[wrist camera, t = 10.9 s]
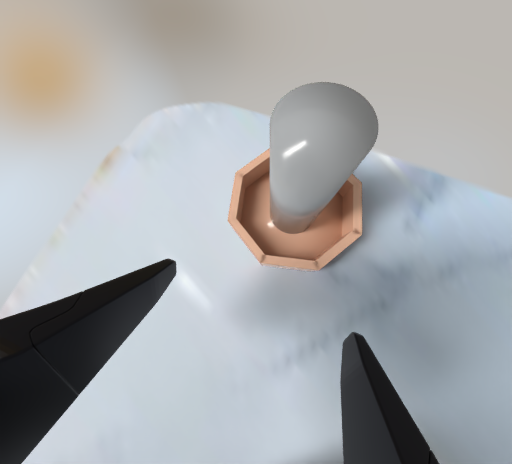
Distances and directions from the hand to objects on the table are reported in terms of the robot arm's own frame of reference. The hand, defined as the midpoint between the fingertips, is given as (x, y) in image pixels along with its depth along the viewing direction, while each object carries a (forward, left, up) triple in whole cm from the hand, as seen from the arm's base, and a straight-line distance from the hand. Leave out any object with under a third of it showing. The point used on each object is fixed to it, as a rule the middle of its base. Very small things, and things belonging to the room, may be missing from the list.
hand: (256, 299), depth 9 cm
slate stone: (+8, -2, -10) cm, 14 cm away
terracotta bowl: (+9, -2, -11) cm, 14 cm away
